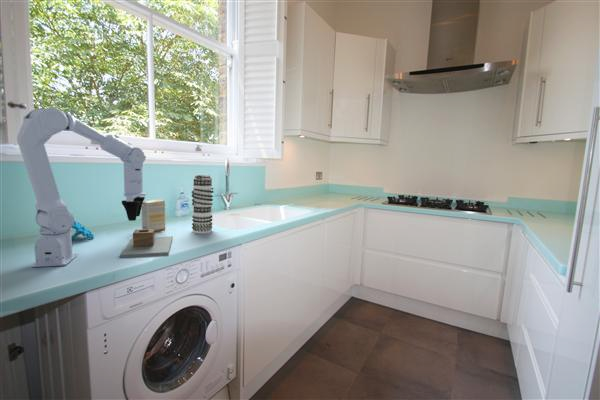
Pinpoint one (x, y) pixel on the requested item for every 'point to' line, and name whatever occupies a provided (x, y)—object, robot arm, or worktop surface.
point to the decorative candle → (202, 204)
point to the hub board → (148, 248)
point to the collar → (143, 238)
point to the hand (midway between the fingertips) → (134, 218)
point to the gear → (81, 231)
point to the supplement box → (153, 215)
